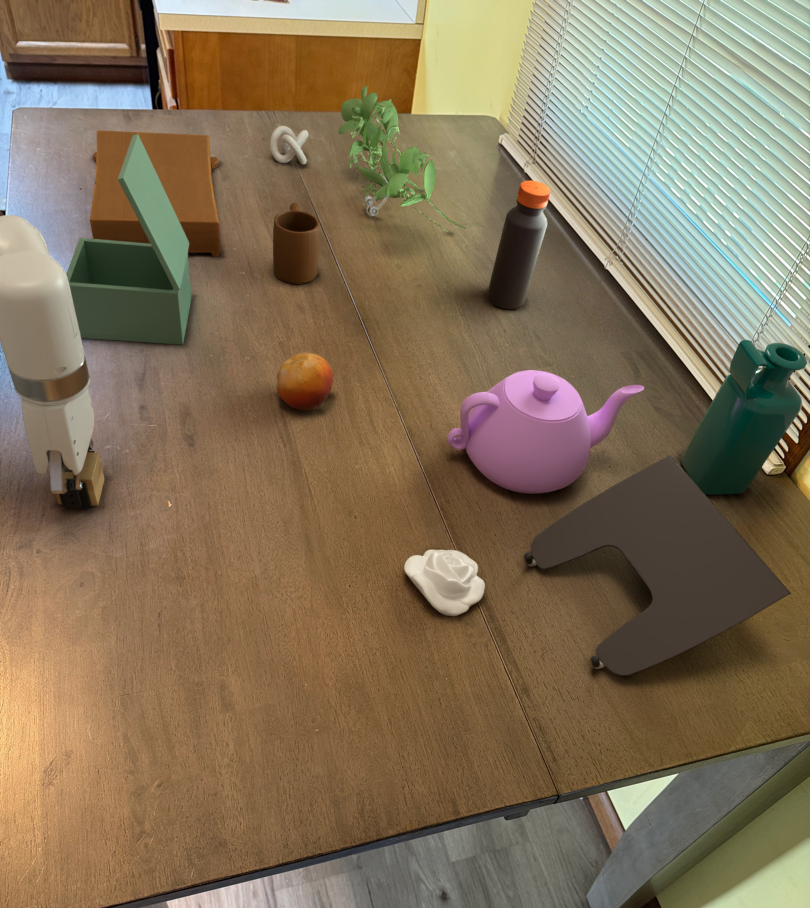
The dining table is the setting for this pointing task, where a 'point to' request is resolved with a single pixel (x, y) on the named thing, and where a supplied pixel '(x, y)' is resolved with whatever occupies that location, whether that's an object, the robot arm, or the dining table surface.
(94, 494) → the block
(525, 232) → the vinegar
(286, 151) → the knot
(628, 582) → the dining table surface
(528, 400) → the teapot
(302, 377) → the fruit
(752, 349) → the dark green tall bottle
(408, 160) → the plant cuttings
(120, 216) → the wooden box
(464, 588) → the rose
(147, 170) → the lid
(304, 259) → the mug
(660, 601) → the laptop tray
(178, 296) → the chest
